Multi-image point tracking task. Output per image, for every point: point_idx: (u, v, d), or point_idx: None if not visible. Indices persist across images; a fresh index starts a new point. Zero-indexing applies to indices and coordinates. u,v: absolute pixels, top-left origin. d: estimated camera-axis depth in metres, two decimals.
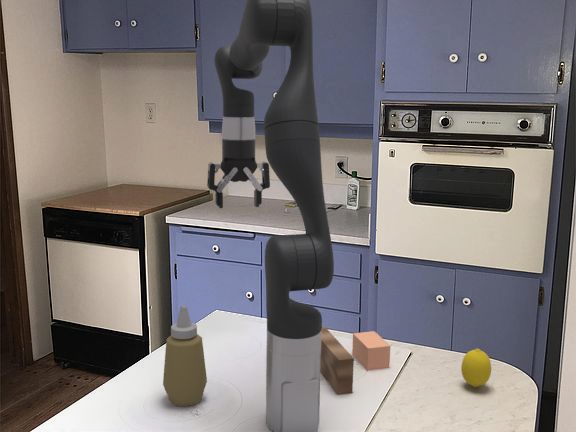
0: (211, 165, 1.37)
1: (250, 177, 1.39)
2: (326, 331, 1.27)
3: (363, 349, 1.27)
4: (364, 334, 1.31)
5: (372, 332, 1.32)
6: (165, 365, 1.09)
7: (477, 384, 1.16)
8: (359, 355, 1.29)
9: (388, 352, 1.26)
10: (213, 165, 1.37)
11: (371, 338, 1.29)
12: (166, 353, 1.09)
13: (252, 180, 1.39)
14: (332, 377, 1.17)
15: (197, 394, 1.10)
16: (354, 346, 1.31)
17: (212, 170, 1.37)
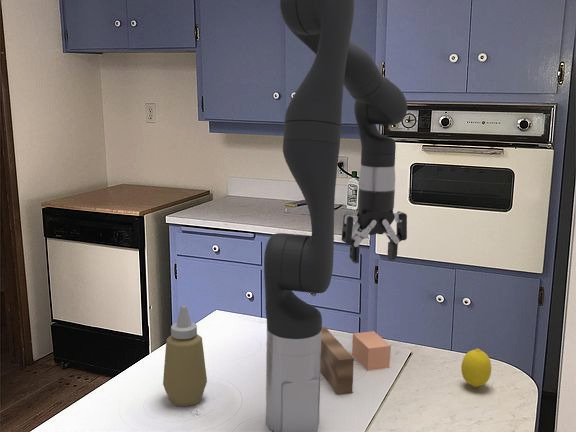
0: (349, 218, 1.26)
1: (388, 229, 1.29)
2: (326, 331, 1.27)
3: (363, 349, 1.27)
4: (364, 334, 1.31)
5: (371, 332, 1.32)
6: (165, 365, 1.09)
7: (477, 384, 1.16)
8: (359, 355, 1.29)
9: (388, 352, 1.26)
10: (351, 218, 1.26)
11: (371, 338, 1.29)
12: (166, 353, 1.09)
13: (390, 233, 1.29)
14: (332, 377, 1.17)
15: (197, 394, 1.10)
16: (354, 346, 1.31)
17: (350, 223, 1.26)
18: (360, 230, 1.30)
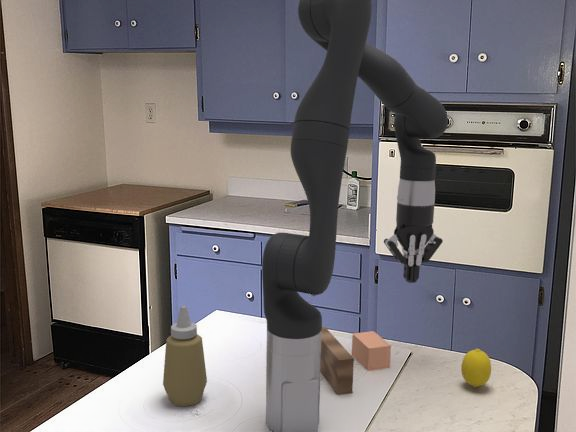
0: (389, 244, 1.24)
1: (420, 246, 1.26)
2: (326, 331, 1.27)
3: (363, 349, 1.27)
4: (364, 334, 1.31)
5: (371, 332, 1.32)
6: (165, 365, 1.09)
7: (477, 384, 1.16)
8: (359, 355, 1.29)
9: (388, 352, 1.26)
10: (391, 242, 1.24)
11: (371, 338, 1.29)
12: (166, 353, 1.09)
13: (420, 250, 1.26)
14: (332, 377, 1.17)
15: (197, 394, 1.10)
16: (354, 346, 1.31)
17: (393, 247, 1.24)
18: None
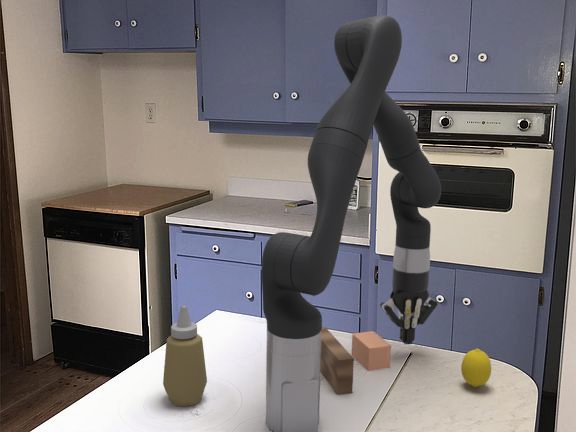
0: (386, 309, 1.27)
1: (416, 310, 1.29)
2: (326, 331, 1.27)
3: (364, 349, 1.27)
4: (364, 334, 1.31)
5: (371, 332, 1.33)
6: (165, 365, 1.09)
7: (477, 384, 1.16)
8: (359, 355, 1.29)
9: (389, 352, 1.26)
10: (388, 307, 1.27)
11: (371, 338, 1.29)
12: (166, 353, 1.09)
13: (415, 314, 1.29)
14: (332, 377, 1.17)
15: (197, 394, 1.10)
16: (354, 346, 1.31)
17: (390, 311, 1.27)
18: None
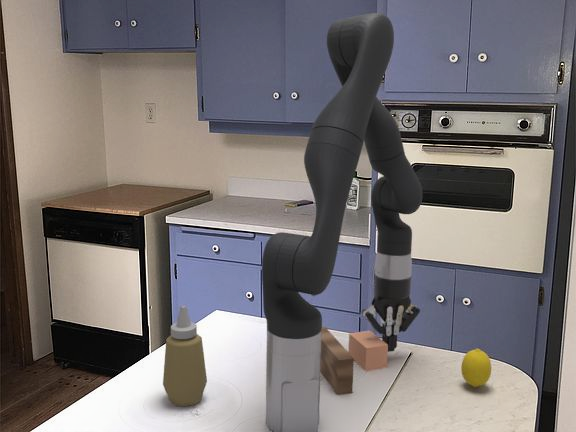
0: (367, 316, 1.26)
1: (398, 317, 1.27)
2: (326, 331, 1.27)
3: (361, 348, 1.26)
4: (361, 334, 1.31)
5: (367, 331, 1.32)
6: (165, 365, 1.09)
7: (477, 384, 1.16)
8: (356, 355, 1.29)
9: (386, 351, 1.26)
10: (369, 314, 1.26)
11: (368, 337, 1.29)
12: (166, 353, 1.09)
13: (397, 321, 1.27)
14: (332, 377, 1.17)
15: (197, 394, 1.10)
16: (351, 346, 1.31)
17: (371, 318, 1.26)
18: None
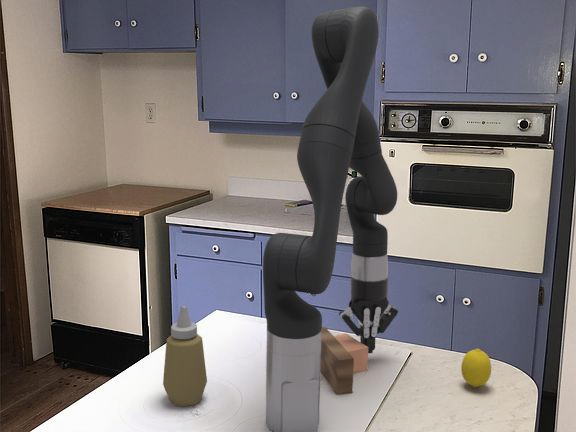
0: (344, 318, 1.24)
1: (375, 319, 1.26)
2: (326, 331, 1.27)
3: None
4: (338, 337, 1.29)
5: (344, 334, 1.30)
6: (165, 365, 1.09)
7: (477, 384, 1.16)
8: None
9: (366, 354, 1.24)
10: (345, 316, 1.24)
11: (346, 340, 1.27)
12: (166, 353, 1.09)
13: (375, 322, 1.26)
14: (332, 377, 1.17)
15: (197, 394, 1.10)
16: None
17: (348, 321, 1.25)
18: None
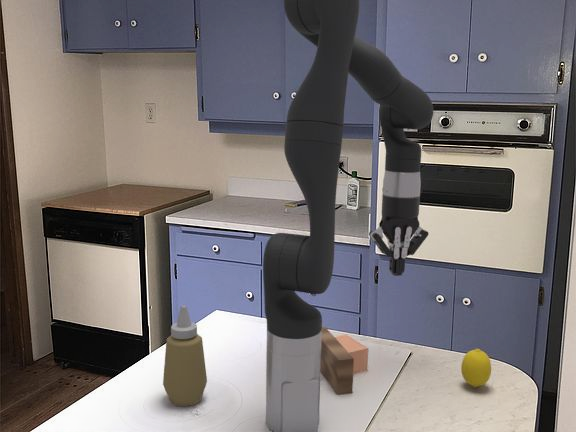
0: (375, 236, 1.23)
1: (406, 239, 1.24)
2: (326, 331, 1.27)
3: None
4: (338, 338, 1.29)
5: (344, 335, 1.30)
6: (165, 365, 1.09)
7: (477, 384, 1.16)
8: None
9: (366, 354, 1.24)
10: (376, 235, 1.23)
11: (346, 341, 1.27)
12: (166, 353, 1.09)
13: (405, 243, 1.24)
14: (332, 377, 1.17)
15: (197, 394, 1.10)
16: None
17: (379, 239, 1.23)
18: None
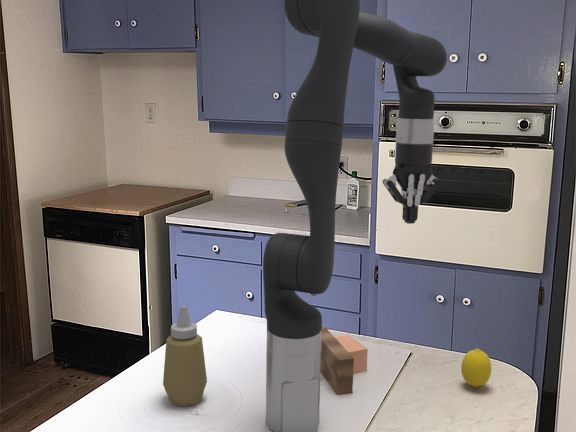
0: (388, 183, 1.24)
1: (419, 186, 1.26)
2: (326, 331, 1.27)
3: None
4: (339, 338, 1.29)
5: (346, 335, 1.30)
6: (165, 365, 1.09)
7: (477, 384, 1.16)
8: None
9: (365, 355, 1.24)
10: (390, 182, 1.24)
11: (346, 341, 1.27)
12: (166, 353, 1.09)
13: (418, 190, 1.26)
14: (332, 377, 1.17)
15: (197, 394, 1.10)
16: None
17: (392, 186, 1.25)
18: None
